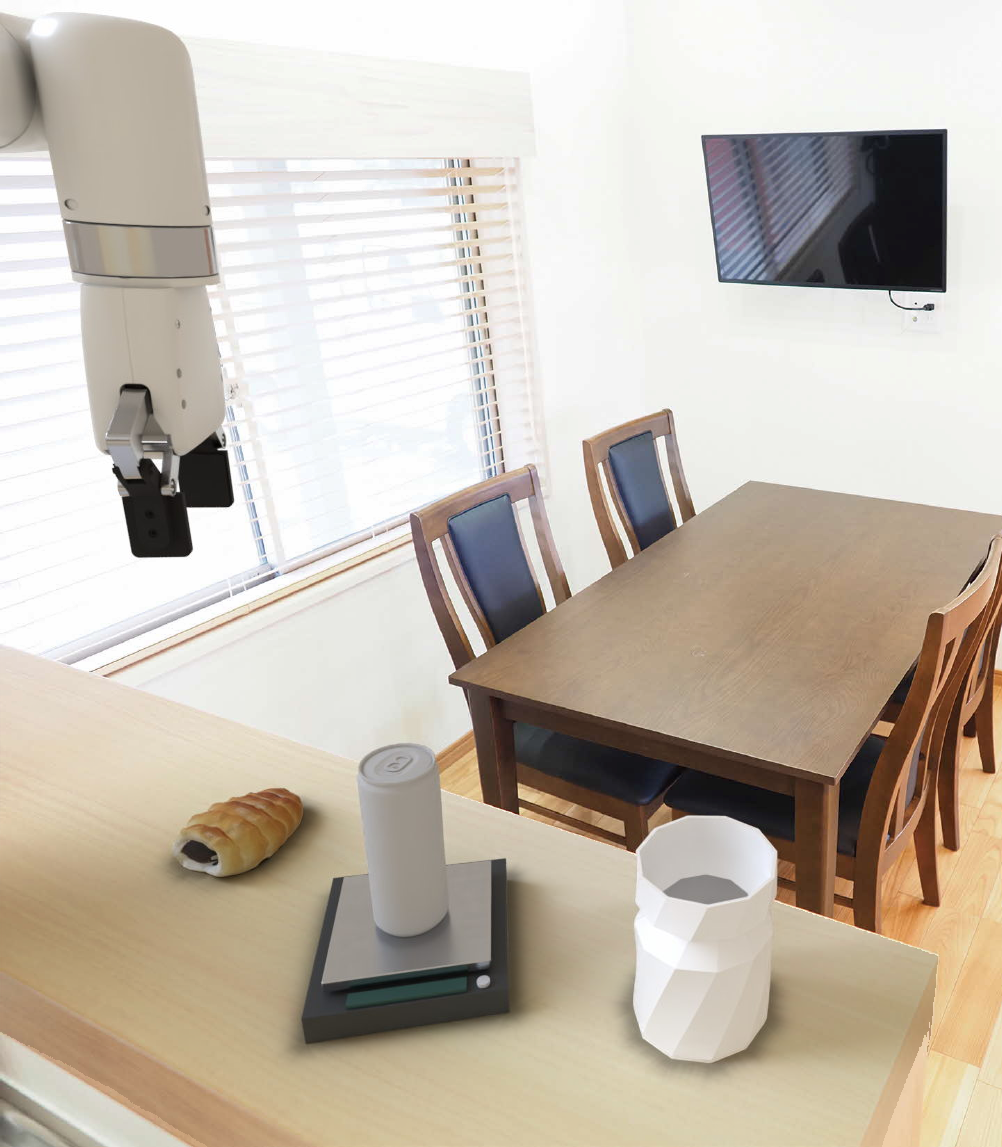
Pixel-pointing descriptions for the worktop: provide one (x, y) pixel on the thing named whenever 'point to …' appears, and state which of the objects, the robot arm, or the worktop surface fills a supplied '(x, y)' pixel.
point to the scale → (409, 985)
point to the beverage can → (404, 838)
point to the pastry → (238, 832)
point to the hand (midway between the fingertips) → (187, 529)
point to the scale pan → (386, 958)
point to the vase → (703, 936)
